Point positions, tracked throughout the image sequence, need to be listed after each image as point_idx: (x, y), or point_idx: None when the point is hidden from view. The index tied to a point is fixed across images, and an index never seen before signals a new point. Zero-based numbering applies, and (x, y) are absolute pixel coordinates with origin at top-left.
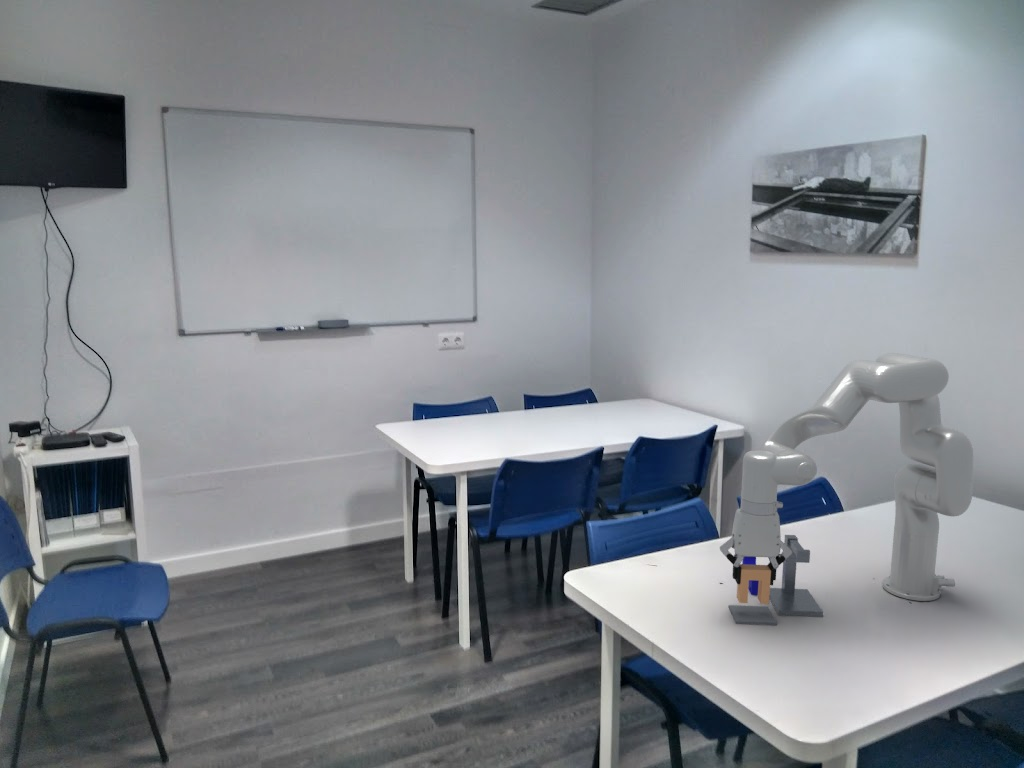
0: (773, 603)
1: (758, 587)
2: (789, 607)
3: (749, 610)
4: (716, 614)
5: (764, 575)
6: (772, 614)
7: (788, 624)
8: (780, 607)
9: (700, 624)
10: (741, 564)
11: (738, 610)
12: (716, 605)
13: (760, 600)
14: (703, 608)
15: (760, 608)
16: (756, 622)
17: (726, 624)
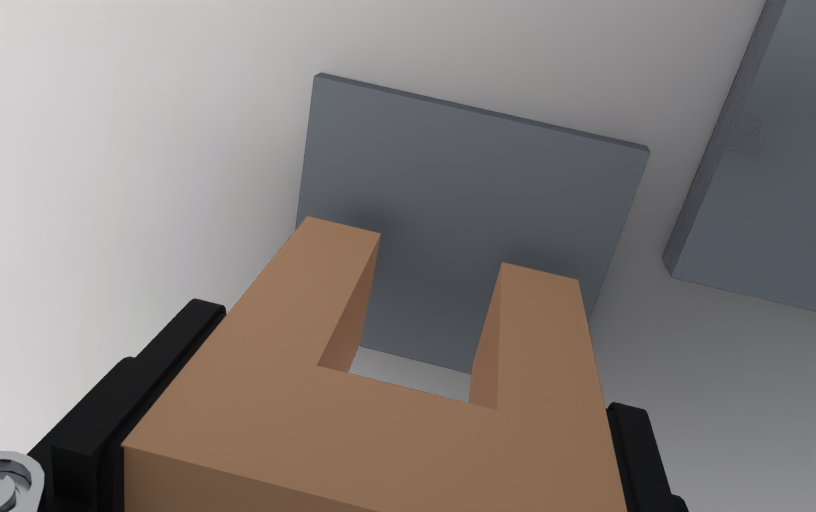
0: (728, 125)
1: (496, 330)
2: (808, 251)
3: (449, 195)
4: (195, 171)
5: None
6: (600, 287)
7: (649, 388)
8: (724, 238)
9: (66, 284)
10: (169, 464)
11: (360, 181)
12: (232, 17)
13: (474, 368)
14: (117, 59)
15: (560, 176)
16: (421, 358)
17: (227, 313)
